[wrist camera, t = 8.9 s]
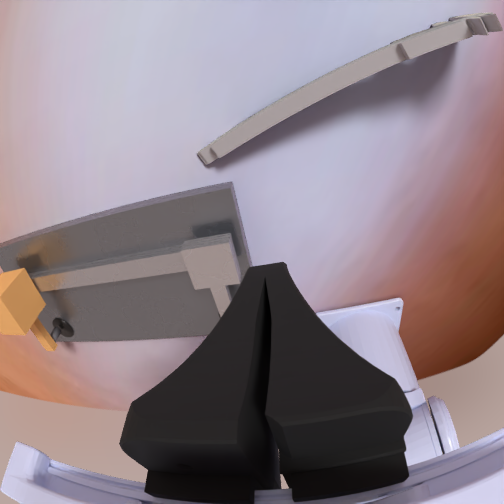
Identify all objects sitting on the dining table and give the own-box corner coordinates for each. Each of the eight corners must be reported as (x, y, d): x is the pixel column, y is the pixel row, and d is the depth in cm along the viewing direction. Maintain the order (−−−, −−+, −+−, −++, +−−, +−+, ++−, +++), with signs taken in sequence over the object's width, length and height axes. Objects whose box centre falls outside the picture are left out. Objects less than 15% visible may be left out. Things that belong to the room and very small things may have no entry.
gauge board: (265, 318, 26) (265, 348, 23) (53, 333, 28) (40, 355, 26) (232, 181, 19) (227, 201, 16) (-1, 244, 22) (-21, 263, 19)
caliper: (450, 16, 12) (508, 8, 7) (457, 29, 13) (516, 26, 7) (197, 151, 19) (172, 183, 13) (207, 164, 19) (186, 201, 14)
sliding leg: (73, 333, 26) (54, 370, 22) (48, 333, 26) (28, 367, 22) (29, 261, 21) (-1, 296, 17) (6, 267, 22) (-22, 299, 18)
